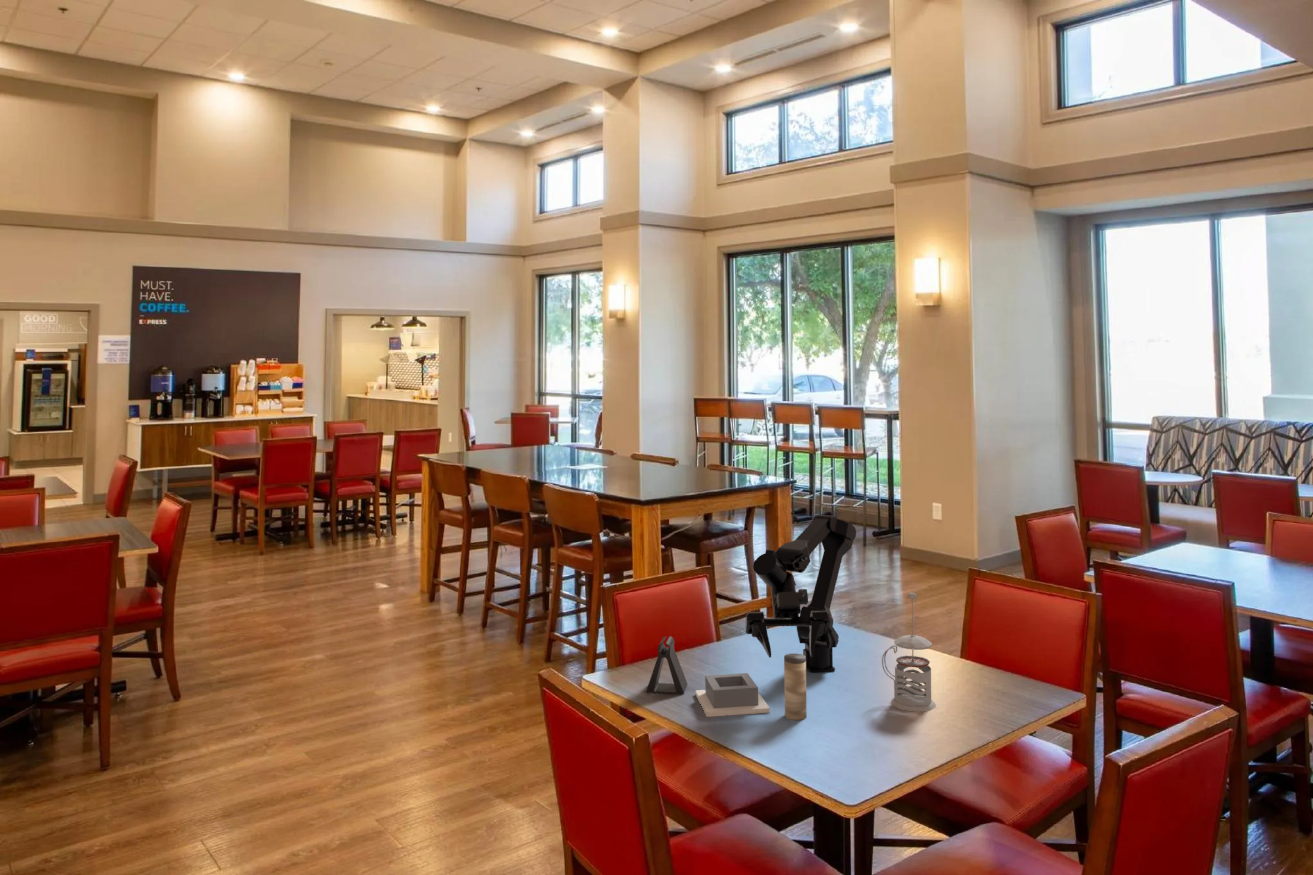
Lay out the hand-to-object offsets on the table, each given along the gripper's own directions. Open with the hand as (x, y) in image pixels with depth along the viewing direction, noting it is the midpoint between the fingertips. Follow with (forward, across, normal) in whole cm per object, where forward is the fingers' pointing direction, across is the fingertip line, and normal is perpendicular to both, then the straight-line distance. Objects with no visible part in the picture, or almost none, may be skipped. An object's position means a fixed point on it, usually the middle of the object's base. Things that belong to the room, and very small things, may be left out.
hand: (791, 656), depth 187 cm
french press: (+7, +26, +10) cm, 29 cm away
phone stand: (-1, -28, +18) cm, 33 cm away
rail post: (+12, 0, +5) cm, 13 cm away
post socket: (+6, -13, +10) cm, 18 cm away
